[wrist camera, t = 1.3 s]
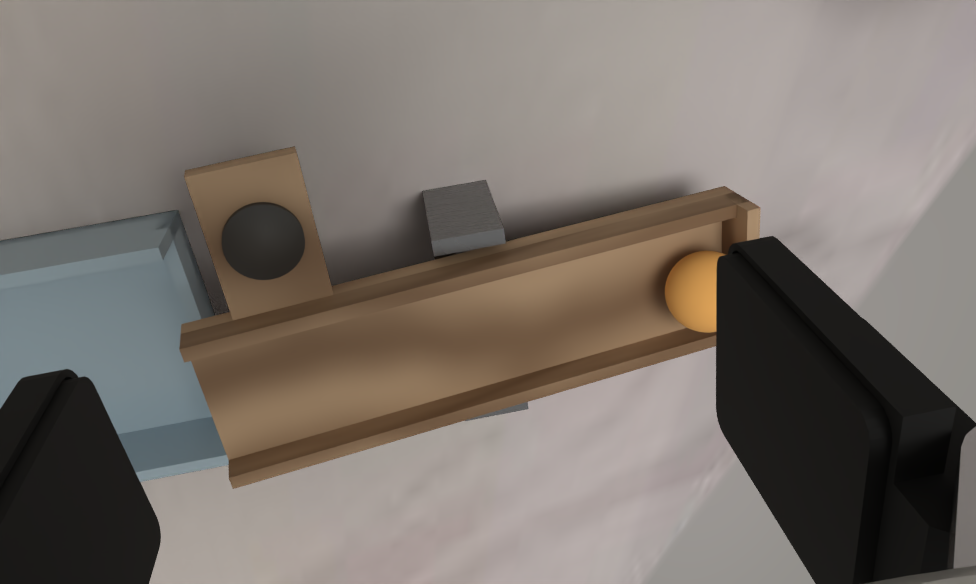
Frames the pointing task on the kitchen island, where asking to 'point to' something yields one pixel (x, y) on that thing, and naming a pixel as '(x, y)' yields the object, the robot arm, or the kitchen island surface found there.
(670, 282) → the ball
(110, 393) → the dish
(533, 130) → the kitchen island surface
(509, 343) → the lever
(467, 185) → the grey arch block
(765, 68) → the kitchen island surface
